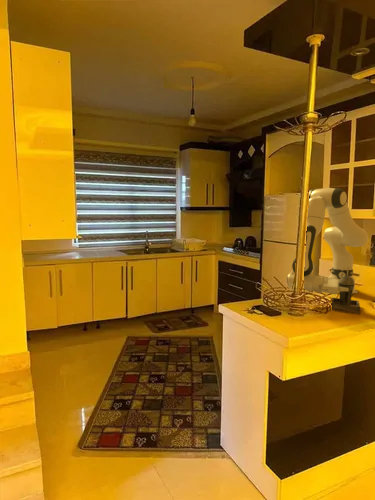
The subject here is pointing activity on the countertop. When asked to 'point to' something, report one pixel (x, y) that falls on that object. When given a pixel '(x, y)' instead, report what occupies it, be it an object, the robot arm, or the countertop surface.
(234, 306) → the countertop surface
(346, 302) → the beverage cup
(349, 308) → the dock plate
